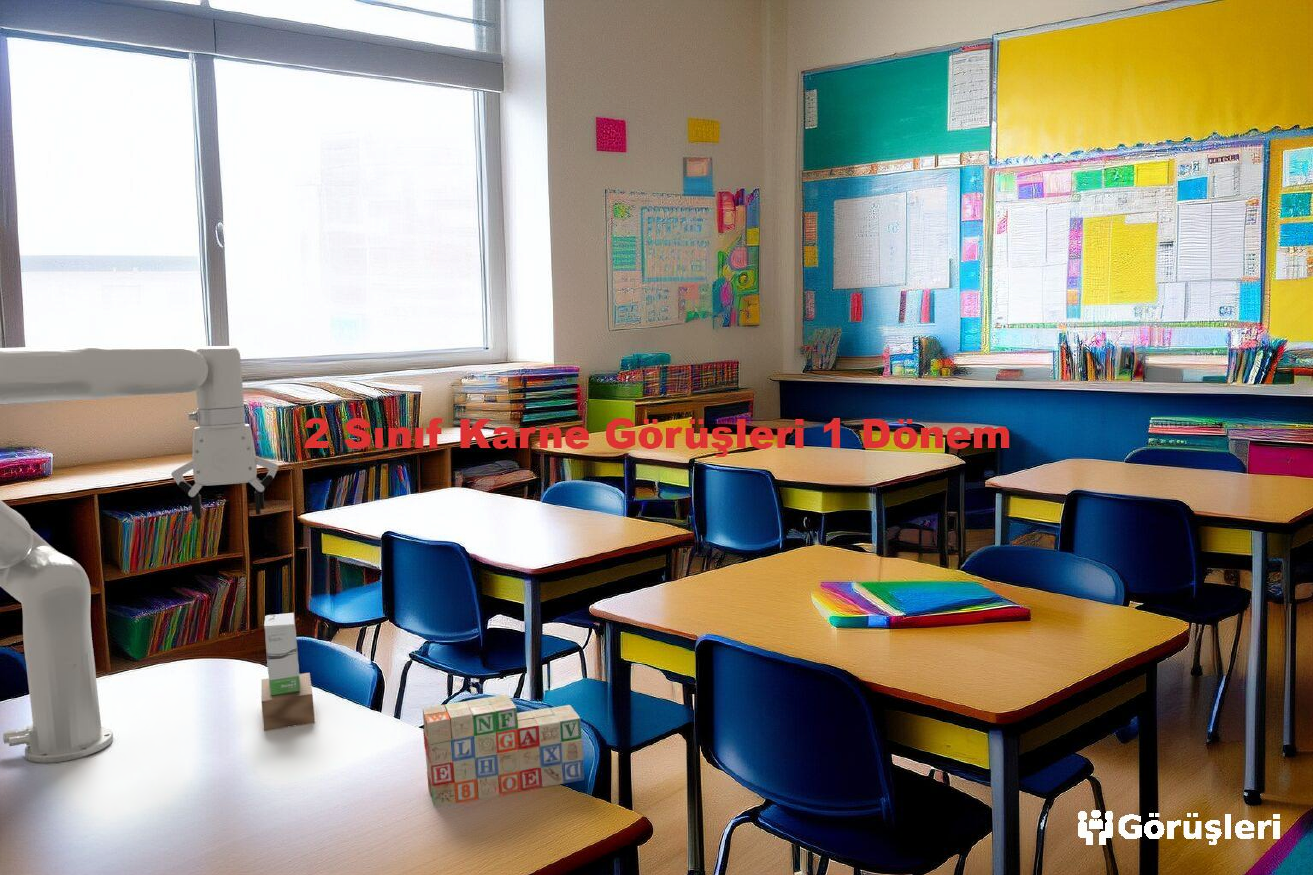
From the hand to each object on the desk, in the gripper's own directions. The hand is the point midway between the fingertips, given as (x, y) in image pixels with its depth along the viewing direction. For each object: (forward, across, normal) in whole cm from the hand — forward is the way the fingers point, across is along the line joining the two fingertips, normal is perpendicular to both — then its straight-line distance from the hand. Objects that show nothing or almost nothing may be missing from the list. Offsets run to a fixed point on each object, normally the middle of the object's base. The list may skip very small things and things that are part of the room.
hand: (229, 515), depth 194 cm
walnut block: (+33, +8, -10) cm, 36 cm away
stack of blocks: (+34, +38, -54) cm, 74 cm away
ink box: (+29, +8, -10) cm, 31 cm away
